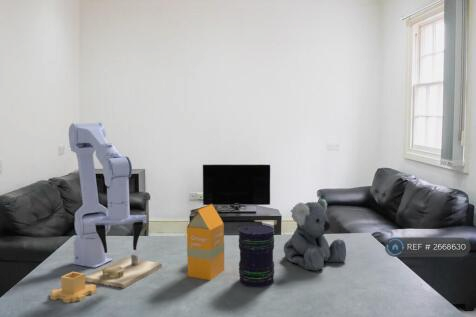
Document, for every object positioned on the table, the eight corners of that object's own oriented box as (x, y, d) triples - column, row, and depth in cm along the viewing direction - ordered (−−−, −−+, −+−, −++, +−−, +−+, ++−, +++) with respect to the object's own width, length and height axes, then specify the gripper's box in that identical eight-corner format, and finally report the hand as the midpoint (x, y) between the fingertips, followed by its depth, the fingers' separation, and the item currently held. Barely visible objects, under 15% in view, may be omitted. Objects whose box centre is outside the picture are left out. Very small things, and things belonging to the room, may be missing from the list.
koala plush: (315, 274, 131) (315, 208, 129) (270, 259, 145) (270, 199, 142) (350, 260, 142) (351, 200, 140) (306, 248, 156) (306, 192, 154)
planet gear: (44, 297, 117) (43, 279, 116) (73, 284, 126) (72, 266, 125) (74, 304, 112) (73, 284, 112) (101, 289, 121) (101, 271, 121)
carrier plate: (84, 280, 128) (83, 266, 127) (124, 261, 144) (124, 248, 144) (123, 288, 122) (123, 273, 122) (161, 267, 138) (161, 253, 138)
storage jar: (278, 276, 129) (278, 225, 128) (269, 289, 120) (269, 235, 119) (245, 273, 133) (244, 223, 131) (234, 285, 123) (233, 232, 122)
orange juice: (224, 270, 135) (224, 204, 133) (210, 280, 127) (209, 210, 125) (202, 266, 139) (200, 202, 137) (187, 276, 131) (185, 208, 129)
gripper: (90, 206, 116) (92, 257, 118) (147, 202, 121) (148, 252, 122) (90, 201, 123) (92, 249, 125) (144, 197, 127) (146, 244, 129)
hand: (120, 250), depth 124 cm, fingers open, 7 cm apart
